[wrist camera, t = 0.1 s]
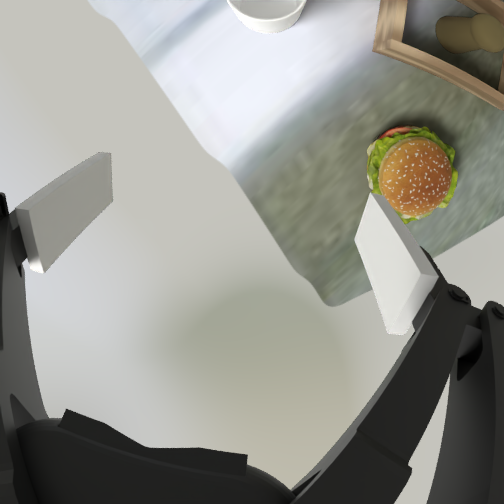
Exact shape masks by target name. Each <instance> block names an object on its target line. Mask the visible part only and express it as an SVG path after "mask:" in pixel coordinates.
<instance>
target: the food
mask: <svg viewBox="0 0 504 504" xmlns="http://www.w3.org/2000/svg"><path fill="white" fill-rule="evenodd" d="M432 133H433V134H431V131H430V130H429V129H428V128H427V127H423V128H419V127H415V126H412V125H404V126H398V127H395V128H392V129H389V130H388V131H386V132H384V133H382V134H381V135H379V136H378V138H377V140H376V141H375V142H373V143H372V144H371V145H370V146H369V147H368V149H367V154H368V161H367V173H368V176H367V178H368V181H369V187H370V188H371V189H372V192H371V193H375V194H379V195H383V196H384V197H385V198H386V199H387V201H388V202H389V203H390V205H391V206H392V207H393V209H394V210H395V212H396V213H397V214H398V216H399V217H400V219H401V220H402V221H403V223H404V224H408V223H409V222H410V221H412V220H418V219H422V218H423V217H427V216H429V215H430V214H431V213H432V212H433V210H434V209H435V208H437V207H441V208H445V207H447V206H448V204H449V201H450V199H451V198H452V197H453V194H454V190H455V188H456V185H457V177H458V172H457V170H456V169H455V168H454V167H453V164H452V163H453V160H454V155H455V150H454V149H453V148H452V147H451V146H449V145H448V144H445V143H443V142H442V141H441V140H440V139H439V137H438V136H437V135H436V134H435V133H434V132H433V131H432Z"/></svg>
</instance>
